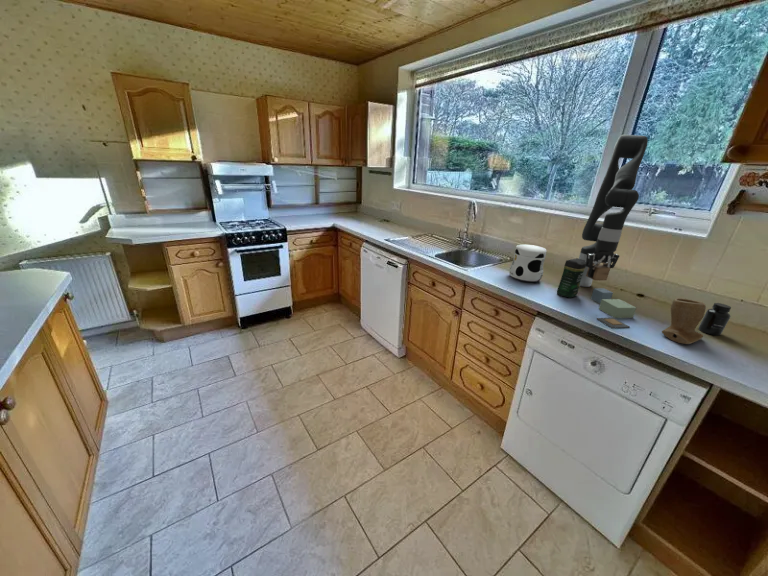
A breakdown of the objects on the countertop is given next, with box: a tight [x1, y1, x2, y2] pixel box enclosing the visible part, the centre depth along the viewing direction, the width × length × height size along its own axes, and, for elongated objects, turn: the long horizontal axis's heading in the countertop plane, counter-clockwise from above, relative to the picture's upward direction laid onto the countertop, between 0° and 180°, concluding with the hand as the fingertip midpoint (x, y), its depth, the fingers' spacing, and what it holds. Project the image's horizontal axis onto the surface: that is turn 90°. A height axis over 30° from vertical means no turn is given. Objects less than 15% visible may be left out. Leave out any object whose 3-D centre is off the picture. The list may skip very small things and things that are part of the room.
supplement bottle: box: [698, 302, 732, 337], centre depth 127 cm, size 7×7×12 cm
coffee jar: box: [556, 257, 586, 299], centre depth 156 cm, size 10×8×19 cm
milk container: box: [508, 243, 547, 283], centre depth 175 cm, size 17×17×18 cm
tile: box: [596, 316, 630, 329], centre depth 131 cm, size 8×8×1 cm
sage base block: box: [598, 298, 637, 319], centre depth 141 cm, size 9×9×5 cm
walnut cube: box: [586, 263, 611, 281], centre depth 138 cm, size 6×6×6 cm
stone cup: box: [661, 297, 706, 345], centre depth 121 cm, size 15×12×15 cm
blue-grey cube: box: [590, 287, 614, 304], centre depth 153 cm, size 6×6×6 cm
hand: (596, 276), depth 139 cm, fingers closed on walnut cube, 5 cm apart
